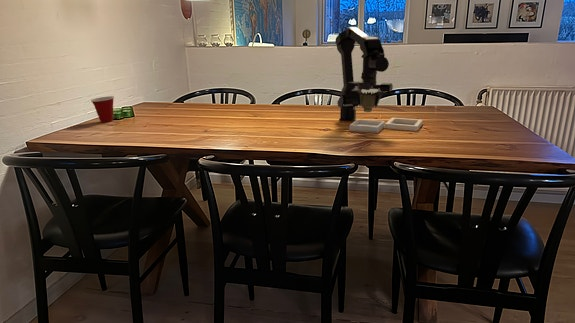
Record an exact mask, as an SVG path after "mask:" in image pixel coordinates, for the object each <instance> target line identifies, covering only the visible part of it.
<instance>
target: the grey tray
mask: <svg viewBox="0 0 575 323" xmlns="http://www.w3.org/2000/svg"><path fill="white" fill-rule="evenodd" d="M385 123H386V121H385V120H373V119H359V118H358V119H356V120H355V121H354V122H353V121H352V123H351V124H349V128H348V129H349V131H350V132H360V133H372V134H379V132H381V131H382V130H383V129H385Z"/></svg>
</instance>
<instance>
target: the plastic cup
mask: <svg viewBox="0 0 575 323" xmlns="http://www.w3.org/2000/svg"><path fill="white" fill-rule="evenodd" d="M114 98H115V97H114V96H112V95H111V96H109V95H108V96H102V97H96V98H93V99H90V101H91V103H92V104H93V106H94V109H95V110H96V114H97V116H98V119H99V121H100V123H102V124H103V123H111V122H113V121H114Z"/></svg>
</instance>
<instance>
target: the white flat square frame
mask: <svg viewBox="0 0 575 323" xmlns="http://www.w3.org/2000/svg"><path fill="white" fill-rule="evenodd" d="M422 125H423V119H419V118H418V119H416V118H403V117H391V118H390V119H389V120H388V121H387V122H386V121H385V127H384V129H391V130H401V131H411V132H412V131H415V132H418V130H419V129H420V128H421V127H422Z"/></svg>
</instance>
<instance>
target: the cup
mask: <svg viewBox="0 0 575 323" xmlns="http://www.w3.org/2000/svg"><path fill="white" fill-rule="evenodd" d="M376 92H377V91H376ZM376 92H371V91H367V92H366V91H364V92H363V91H362V92H361V93H360V103H361V106H360V107H362V108H363V112H364V113H371V112H373V108H374V107H375V102H376Z"/></svg>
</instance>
